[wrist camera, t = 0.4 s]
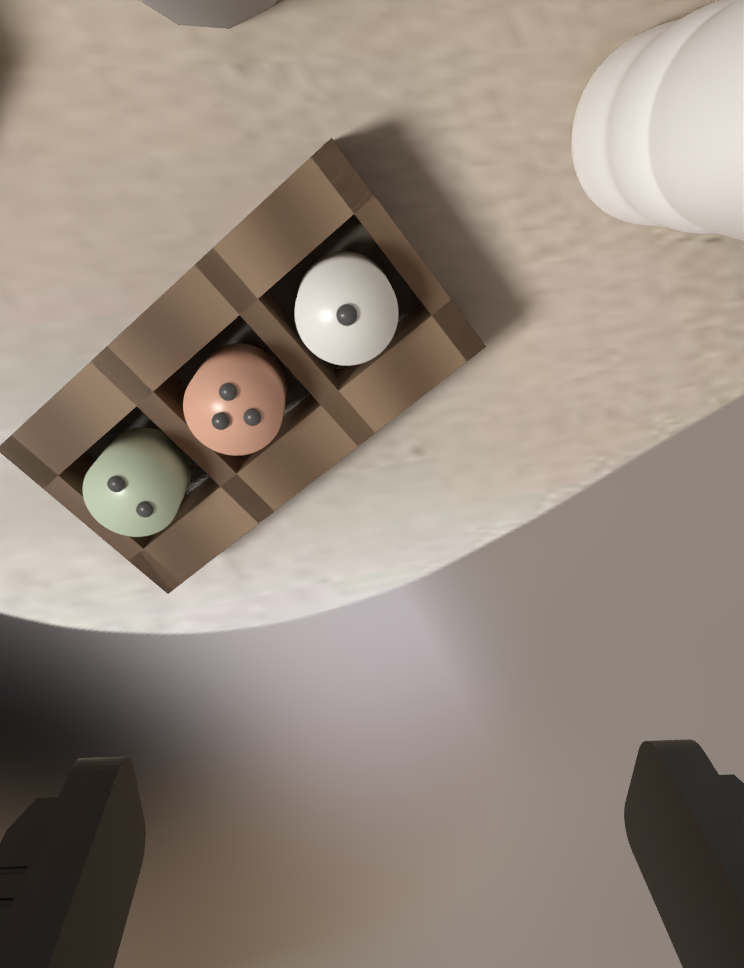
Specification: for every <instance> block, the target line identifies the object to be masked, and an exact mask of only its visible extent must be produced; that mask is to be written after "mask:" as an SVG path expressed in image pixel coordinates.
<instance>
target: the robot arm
mask: <svg viewBox="0 0 744 968" xmlns="http://www.w3.org/2000/svg"><path fill="white" fill-rule="evenodd" d="M624 819H625V828H626V833H627V837H628V841H629V844H630V847H631V849H632V852H633V854H634V856H635V859H636V861H637V863H638V865H639V868H640V870H641V872H642V875H643V877H644V879H645V882H646V884H647V886H648V888H649V891H650V893H651V895H652V898H653V900H654V902H655V904H656V907H657V909H658V911H659V914H660V916H661V918H662V921H663V923H664V925H665V927H666V930H667V932H668V934H669V937H670V939H671V941H672V943H673V946H674V948H675V950H676V953H677V955H678V957H679V960H680V962H681V964H682V966H683V968H744V783H743V782H742V781H740V780H739V779H738V778H737V777H736V776H735V775H719V774H718V773H717V771H716V770H715V768H714V767H713V765H712V763H711V762H710V760H709V759H708V757H707V755H706V754H705V752H704V751H703V749H702V748H701V746H700V745H699V744H698V743H696V742H695V741H693V740H664V741H645V742H643V743H642V744H641V746H640V748H639V751H638V755H637V759H636V763H635V767H634V771H633V775H632V779H631V783H630V786H629V790H628V795H627V798H626V803H625V809H624ZM145 834H146V832H145V821H144V815H143V810H142V805H141V800H140V796H139V791H138V786H137V781H136V776H135V771H134V766H133V762H132V760H131V758H130V757H109V758H108V757H106V758H80V759H78V760H77V761H76V762H75V763H74V764H73V766H72V768H71V770H70V772H69V774H68V776H67V779H66V781H65V783H64V785H63V788H62V790H61V792H60V795H59V797H53V798H36V799H35V800H34V802H33V803H32V804H31V805H30V806H29V807H28V808H27V809H26V810H25V811H24V812H23V813H22V815H20V817H19V818H18V819H17V820H16V821H15V822H14V823H13V824H12V825H11V826H10V827H9V828H8V829H7V831H6V833H5V835H4V837H3V839H2V841H1V843H0V968H114V964H115V961H116V957H117V954H118V950H119V946H120V943H121V939H122V935H123V932H124V928H125V925H126V921H127V917H128V914H129V910H130V907H131V903H132V899H133V896H134V891H135V888H136V885H137V881H138V878H139V874H140V870H141V866H142V861H143V856H144V849H145Z"/></svg>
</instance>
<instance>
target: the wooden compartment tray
mask: <svg viewBox="0 0 744 968" xmlns="http://www.w3.org/2000/svg"><path fill="white" fill-rule="evenodd" d="M353 214H355V216H356V217H357V218H358V220H359V221H360V222H361V223H362V225H363V226H364V227H365V229H366V230H367V231H368V233H369V234H370V235H371V237H372V238H373V239H374V241H375V242H376V243H377V244H378V246H379V247H380V248H381V250H382V251H383V252H384V254H385V255H386V256H387V258H388V259H389V260H390V262H391V263H392V264H393V265H394V267H395V268H396V269H397V271H398V272H399V273H400V275H401V276H402V277H403V279H404V280H405V281H406V282H407V284H408V285H409V286H410V288H411V289H412V290H413V292H414V293H415V294H416V296H417V297H418V298H419V300H420V301H421V302H422V303H421V304H420V305H419V306H417V307H416V308H415V309H414V310H413V311H411V312H410V313H409V314H408V315H407V316H405V317H404V318H403V319H402V320H400V321H399V322H398V323H397V327H396V331H395V333H394V336H393V338H392V340H391V341H390V343H389V344H388V345H387V347H386V348H385V349H384V350H383V351H382V352H381V353H380V354H379V355H377V356H376V357H374V358H373V359H371V360H369V361H367V362H364V363H361V364H357V365H350V366H346V365H345V366H344V367H343V368H342V369H341V370H339V371H337V370H336V369H335V368H334V366H333V365H332V364H331V363H329V362H327V361H325V360H323V359H321V358H319V357H318V356H316V355H315V354H314V353H312V352H311V351H310V350H309V349H308V348H307V346H306V345H305V344H304V342H303V341H302V339H301V337H300V335H299V333H298V330H297V327H296V323H295V321H294V320H293V319H292V318H291V317H290V315H289V314H288V313H287V312H286V311H285V310H284V309H283V307H282V306H281V305H280V304H279V303H278V302H277V300H276V299H275V298H274V297H273V296H272V295H271V294H270V292H269V291H268V289H270V288H271V287H272V286H273V285H274V284H275V283H276V282H278V281H279V280H280V279H281V278H282V277H283V276H284V275H285V274H287V273H288V272H289V271H290V270H291V269H292V268H293V267H294V266H296V265H297V264H298V263H299V262H300V261H301V260H302V259H304V258H305V257H306V256H307V255H308V254H309V253H310V252H311V251H313V250H314V249H315V248H316V247H317V246H318V245H319V244H320V243H322V242H323V241H324V240H325V239H326V238H327V237H328V236H330V235H331V234H332V233H333V232H334V231H335V230H336V229H337V228H339V227H340V226H341V225H342V224H343V223H344V222H345V221H346V220H348V219H349V218H350V217H351V216H352V215H353ZM239 315H240V316H241V317H242V318H243V319H244V320H245V321H246V323H247V324H248V325H249V326H250V327H251V328H252V329H253V330H254V331H255V333H256V334H257V335H258V336H259V337H260V338H261V339H262V340H263V341H264V343H265V344H266V345H267V346H268V347H269V348H270V349H271V350H272V351H273V353H274V354H275V355H276V356H277V357H278V358H279V359H280V360H281V361H282V363H283V364H284V365H285V366H286V367H287V368H288V369H289V370H290V371H291V373H292V374H293V375H294V376H295V377H296V378H297V379H298V380H299V381H300V383H301V384H302V385H303V386H304V387H305V388H306V389H307V390H308V392H309V393H310V395H309V396H308V397H306V398H305V399H304V400H303V401H301V402H300V403H299V404H298V405H297V406H295V407H294V408H293V409H292V410H290V411H289V412H288V413H287V414H286V415H284V416H283V418H282V423H281V426H280V429H279V431H278V433H277V434H276V436H275V437H274V439H273V440H272V441H271V442H270V443H269V444H268V445H266V446H265V447H264V448H262V449H260V450H258V451H256V452H254V453H251V454H246V455H226V454H222V453H219V452H216V451H214V450H212V449H210V448H208V447H207V446H205V445H204V444H202V443H201V442H200V441H199V440H198V439H197V438H196V437H195V436H194V435H193V433H192V432H191V430H190V429H189V427H188V425H187V422H186V420H185V416H184V411H183V400H184V395H185V391H186V389H185V388H184V387H183V386H182V385H181V384H180V383H179V382H178V381H177V380H176V379H175V378H174V377H173V376H172V374H174V373H175V372H176V371H177V370H178V369H179V368H180V367H181V366H183V365H184V364H185V363H186V362H187V361H188V360H189V359H190V358H192V357H193V356H194V355H195V354H196V353H197V352H198V351H200V350H201V349H202V348H203V347H204V346H205V345H206V344H207V343H209V342H210V341H211V340H212V339H213V338H214V337H215V336H216V335H218V334H219V333H220V332H221V331H222V330H223V329H224V328H226V327H227V326H228V325H229V324H230V323H231V322H232V321H233V320H235V319H236V318H237V317H238V316H239ZM485 347H486V346H485V345H484V343H483V342H482V340H481V339H480V338H479V336H478V335H477V334H476V332H475V331H474V330H473V328H472V327H471V326H470V324H469V323H468V322H467V320H466V319H465V318H464V316H463V315H462V313H461V312H460V311H459V309H458V308H457V307H456V305H455V304H454V303H453V301H452V300H451V299H450V297H449V296H448V295H447V293H446V292H445V291H444V289H443V288H442V286H441V285H440V284H439V282H438V281H437V280H436V278H435V277H434V276H433V274H432V273H431V272H430V270H429V269H428V268H427V266H426V265H425V264H424V262H423V261H422V259H421V258H420V257H419V255H418V254H417V253H416V251H415V250H414V249H413V247H412V246H411V245H410V243H409V242H408V241H407V239H406V238H405V236H404V235H403V234H402V232H401V231H400V230H399V228H398V227H397V226H396V224H395V223H394V222H393V220H392V219H391V218H390V216H389V215H388V214H387V212H386V211H385V209H384V208H383V207H382V205H381V204H380V203H379V201H378V200H377V199H376V197H375V196H374V195H373V193H372V192H371V191H370V189H369V188H368V187H367V185H366V184H365V182H364V181H363V180H362V178H361V177H360V176H359V174H358V173H357V172H356V170H355V169H354V168H353V166H352V165H351V164H350V162H349V161H348V159H347V158H346V157H345V155H344V154H343V153H342V151H341V150H340V149H339V147H338V146H337V145H336V143H335V142H334V141H333V139H332V138H331V139H330V140H329V141H328V142H327V143H325V144H324V145H323V146H322V147H321V148H320V149H319V150H318V151H317V152H316V153H315V154H314V155H313V156H311V157H310V158H309V159H308V160H307V161H306V162H305V163H304V164H303V165H302V166H301V167H300V168H299V169H297V170H296V171H295V172H294V173H293V174H292V175H291V176H290V177H289V178H288V179H287V180H286V181H285V182H283V183H282V184H281V185H280V186H279V187H278V188H277V189H276V190H275V191H274V192H273V193H272V194H271V195H269V196H268V197H267V198H266V199H265V200H264V201H263V202H262V203H261V204H260V205H259V206H258V207H257V208H255V209H254V210H253V211H252V212H251V213H250V214H249V215H248V216H247V217H246V218H245V219H244V220H243V221H241V222H240V223H239V224H238V225H237V226H236V227H235V228H234V229H233V230H232V231H231V232H230V233H229V234H227V235H226V236H225V237H224V238H223V239H222V240H221V241H220V242H219V243H218V244H217V245H216V246H215V247H213V248H212V249H211V250H210V251H209V252H208V253H207V254H206V255H205V256H204V257H203V258H202V259H201V260H200V261H198V262H197V263H196V264H195V265H194V266H193V267H192V268H191V269H190V270H189V271H188V272H187V273H186V274H184V275H183V276H182V277H181V278H180V279H179V280H178V281H177V282H176V283H175V284H174V285H173V286H172V287H170V288H169V289H168V290H167V291H166V292H165V293H164V294H163V295H162V296H161V297H160V298H159V299H158V300H156V301H155V302H154V303H153V304H152V305H151V306H150V307H149V308H148V309H147V310H146V311H145V312H144V313H142V314H141V315H140V316H139V317H138V318H137V319H136V320H135V321H134V322H133V323H132V324H131V325H130V326H128V327H127V328H126V329H125V330H124V331H123V332H122V333H121V334H120V335H119V336H118V337H117V338H116V339H114V340H113V341H112V342H111V343H110V344H109V345H108V346H107V347H106V348H105V349H104V350H103V351H102V352H100V353H99V354H98V355H97V356H96V357H95V358H94V359H93V360H92V361H91V362H90V363H89V364H88V365H86V366H85V367H84V368H83V369H82V370H81V371H80V372H79V373H78V374H77V375H76V376H75V377H74V378H72V379H71V380H70V381H69V382H68V383H67V384H66V385H65V386H64V387H63V388H62V389H61V390H60V391H58V392H57V393H56V394H55V395H54V396H53V397H52V398H51V399H50V400H49V401H48V402H47V403H46V404H44V405H43V406H42V407H41V408H40V409H39V410H38V411H37V412H36V413H35V414H34V415H33V416H32V417H30V418H29V419H28V420H27V421H26V422H25V423H24V424H23V425H22V426H21V427H20V428H19V429H18V430H16V431H15V432H14V433H13V434H12V435H11V436H10V437H9V438H8V439H7V440H6V441H5V442H4V443H2V444H1V445H0V453H2V454H3V455H4V456H5V457H6V458H7V459H9V460H10V461H11V462H12V463H13V464H15V465H16V466H17V467H18V468H19V469H20V470H22V471H23V472H24V473H25V474H26V475H28V476H29V477H30V478H31V479H32V480H34V481H35V482H36V483H37V484H38V485H39V486H41V487H42V488H43V489H44V490H45V491H47V492H48V493H49V494H50V495H51V496H53V497H54V498H55V499H56V500H57V501H58V502H60V503H61V504H62V505H63V506H64V507H66V508H67V509H68V510H69V511H70V512H71V513H73V514H74V515H75V516H76V517H77V518H79V519H80V520H81V521H82V522H83V523H85V524H86V525H87V526H88V527H89V528H90V529H92V530H93V531H94V532H95V533H96V534H98V535H99V536H100V537H101V538H102V539H103V540H105V541H106V542H107V543H108V544H109V545H111V546H112V547H113V548H114V549H115V550H117V551H118V552H119V553H120V554H121V555H122V556H124V557H125V558H126V559H127V560H128V561H130V562H131V563H132V564H133V565H134V566H136V567H137V568H138V569H139V570H140V571H141V572H143V573H144V574H145V575H146V576H147V577H149V578H150V579H151V580H152V581H153V582H154V583H156V584H157V585H158V586H159V587H160V588H162V589H163V590H164V591H165V592H166V593H170V592H171V591H172V590H174V589H175V588H176V587H177V586H179V585H180V584H181V583H183V582H184V581H185V580H186V579H188V578H189V577H190V576H192V575H193V574H194V573H195V572H197V571H198V570H199V569H201V568H202V567H203V566H204V565H206V564H207V563H208V562H210V561H211V560H212V559H214V558H215V557H216V556H217V555H219V554H220V553H221V552H223V551H224V550H225V549H226V548H228V547H229V546H230V545H232V544H233V543H234V542H235V541H237V540H238V539H239V538H241V537H242V536H243V535H244V534H246V533H247V532H248V531H250V530H251V529H252V528H253V527H255V526H256V525H257V524H259V523H260V522H261V521H262V520H264V519H265V518H266V517H268V516H269V515H270V514H271V513H273V512H274V511H275V510H277V509H278V508H279V507H280V506H282V505H283V504H284V503H286V502H287V501H288V500H289V499H291V498H292V497H293V496H295V495H296V494H297V493H298V492H300V491H301V490H302V489H304V488H305V487H306V486H307V485H309V484H310V483H311V482H313V481H314V480H315V479H316V478H318V477H319V476H320V475H322V474H323V473H324V472H325V471H327V470H328V469H329V468H331V467H332V466H333V465H334V464H336V463H337V462H338V461H340V460H341V459H342V458H343V457H345V456H346V455H347V454H349V453H350V452H351V451H352V450H354V449H355V448H356V447H358V446H359V445H360V444H361V443H363V442H364V441H365V440H367V439H368V438H369V437H370V436H372V435H373V434H374V433H376V432H377V431H378V430H379V429H381V428H382V427H383V426H385V425H386V424H387V423H388V422H390V421H391V420H392V419H394V418H395V417H396V416H397V415H399V414H400V413H401V412H403V411H404V410H405V409H406V408H408V407H409V406H410V405H412V404H413V403H414V402H415V401H417V400H418V399H419V398H421V397H422V396H423V395H424V394H426V393H427V392H428V391H430V390H431V389H432V388H433V387H435V386H436V385H437V384H439V383H440V382H441V381H442V380H444V379H445V378H446V377H448V376H449V375H450V374H451V373H453V372H454V371H455V370H457V369H458V368H459V367H460V366H462V365H463V364H464V363H466V362H467V361H468V360H469V359H471V358H472V357H473V356H475V355H476V354H477V353H478V352H480V351H481V350H482V349H484V348H485ZM136 406H137V407H138V408H139V409H140V410H141V411H142V412H143V413H144V414H145V415H146V416H147V417H148V418H149V419H151V420H152V421H153V422H154V423H155V424H156V425H157V426H158V427H159V428H160V429H161V430H162V431H163V432H164V433H165V434H166V435H167V436H168V437H169V438H170V439H171V440H172V441H173V442H174V443H175V444H177V445H178V446H179V447H180V448H181V449H182V450H183V451H184V452H185V453H186V454H187V455H188V456H189V457H190V458H191V459H192V460H193V461H194V462H195V463H196V464H197V465H198V466H199V467H200V468H201V469H203V470H204V471H205V472H206V473H207V474H208V475H209V476H210V477H209V478H207V479H206V480H205V481H204V482H203V483H201V484H200V485H199V486H198V487H196V488H195V489H194V490H193V491H192V492H190V493H189V494H188V495H187V496H185V497H184V498H183V500H182V502H181V504H180V506H179V509H178V511H177V513H176V515H175V517H174V519H173V520H172V521H171V523H170V524H169V525H168V526H167V527H165V528H164V529H163V530H161V531H159V532H157V533H155V534H152V535H148V536H142V537H131V536H125V535H121V534H118V533H115V532H113V531H111V530H109V529H107V528H105V527H104V526H103V525H101V524H100V523H99V522H98V521H97V520H96V519H95V518H94V517H93V516H92V515H91V513H90V512H89V510H88V509H87V506H86V504H85V501H84V498H83V482H84V478H85V476H86V474H87V472H88V470H89V469H90V468H91V466H92V465H93V464H94V463H95V461H94V460H92V459H91V458H90V457H89V456H88V455H87V454H86V453H85V451H87V450H88V449H89V448H90V447H91V446H92V445H93V444H94V443H96V442H97V441H98V440H99V439H100V438H101V437H102V436H103V435H105V434H106V433H107V432H108V431H109V430H110V429H111V428H113V427H114V426H115V425H116V424H117V423H118V422H119V421H120V420H122V419H123V418H124V417H125V416H126V415H127V414H128V413H129V412H131V411H132V410H133V409H134V408H135V407H136Z"/></svg>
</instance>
